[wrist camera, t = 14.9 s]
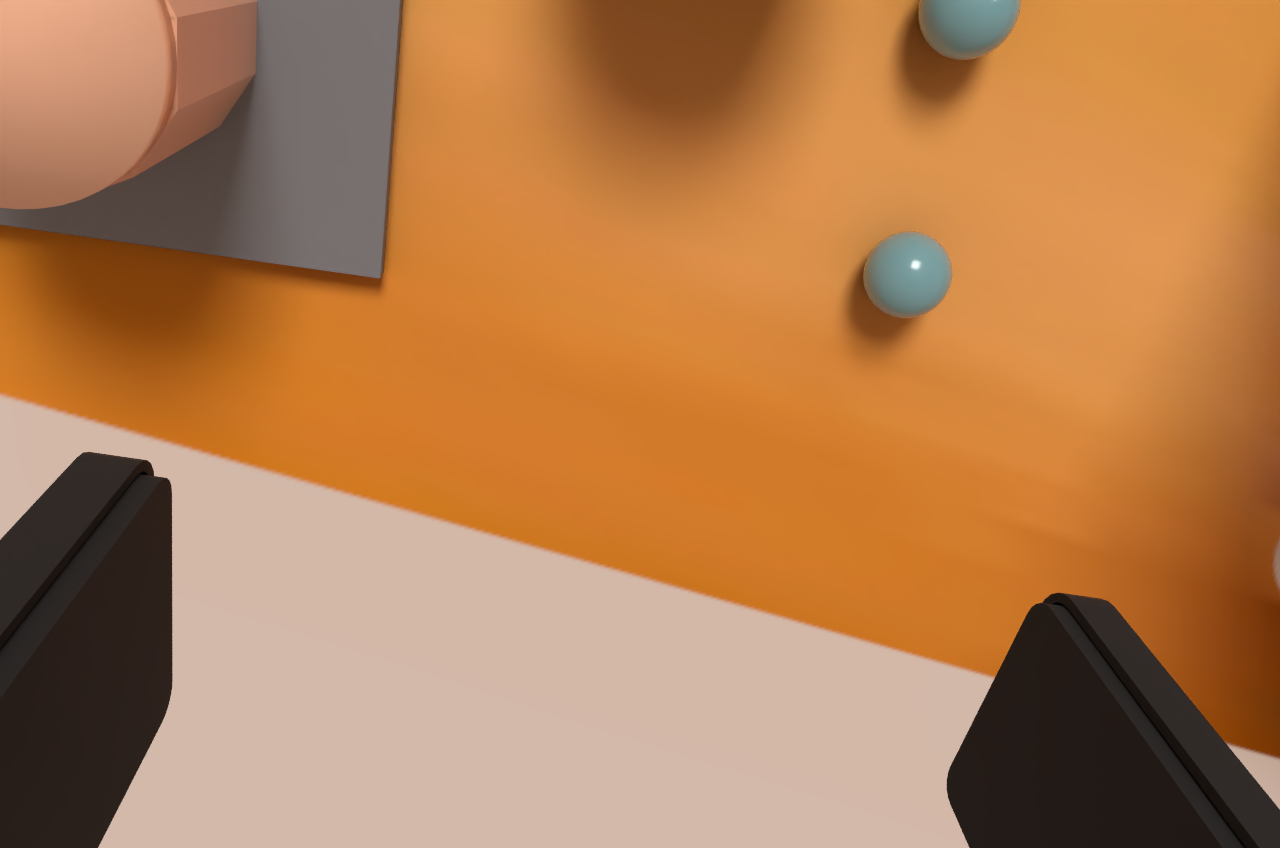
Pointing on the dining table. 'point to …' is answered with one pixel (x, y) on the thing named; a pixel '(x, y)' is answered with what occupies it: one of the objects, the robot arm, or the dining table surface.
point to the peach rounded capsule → (112, 88)
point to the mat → (274, 153)
